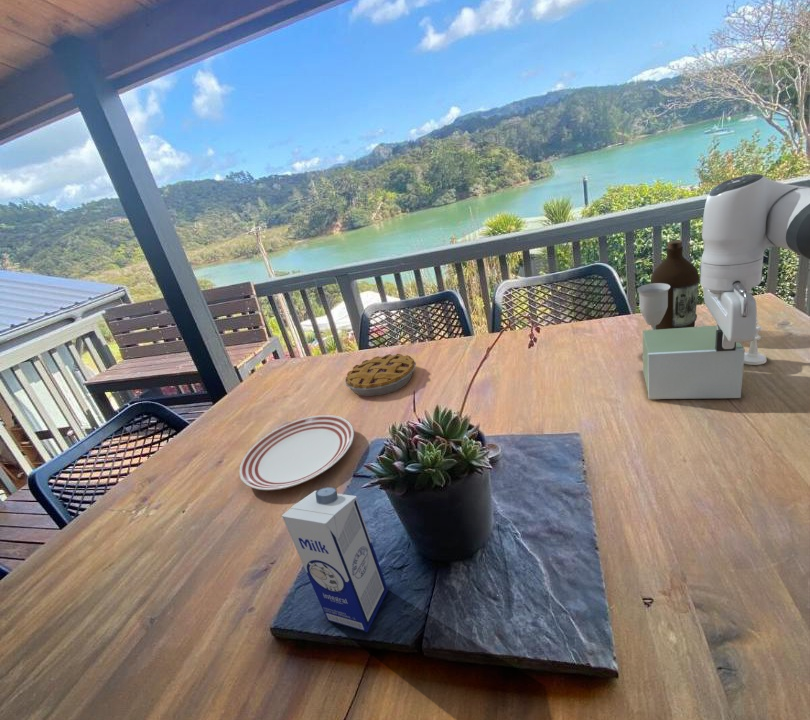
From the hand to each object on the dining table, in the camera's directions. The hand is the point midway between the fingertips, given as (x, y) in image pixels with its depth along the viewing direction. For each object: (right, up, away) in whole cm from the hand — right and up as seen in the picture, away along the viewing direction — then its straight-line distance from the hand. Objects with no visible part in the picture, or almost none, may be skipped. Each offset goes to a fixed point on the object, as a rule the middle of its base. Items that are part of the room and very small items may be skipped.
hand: (725, 344), depth 83 cm
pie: (-68, -9, +50) cm, 85 cm away
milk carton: (-68, -39, -19) cm, 81 cm away
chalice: (+1, -2, +26) cm, 26 cm away
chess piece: (+17, -3, +15) cm, 23 cm away
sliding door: (-2, -11, +7) cm, 13 cm away
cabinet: (+1, -8, +12) cm, 15 cm away
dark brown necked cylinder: (+11, +4, +34) cm, 36 cm away
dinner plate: (-86, -26, +20) cm, 92 cm away
